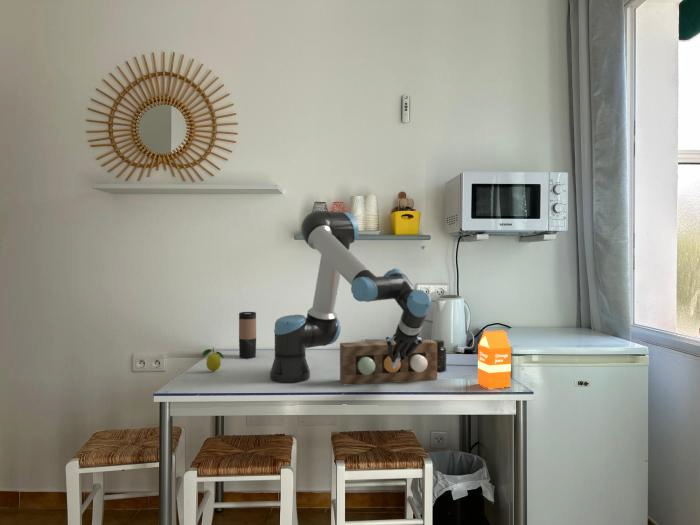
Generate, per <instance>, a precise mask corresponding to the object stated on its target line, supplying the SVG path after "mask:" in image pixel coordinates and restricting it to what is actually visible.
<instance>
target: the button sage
mask: <svg viewBox="0 0 700 525" xmlns="http://www.w3.org/2000/svg"><path fill="white" fill-rule="evenodd" d="M357 367H358V369H359V371H360V372H361V373H362V374H364V375H370V374H372V373H373V372H374V370H375V363H374V361H373V360H372V359H371V358H369V357H362V358H361V359H360V360H359V361H358V363H357Z"/></svg>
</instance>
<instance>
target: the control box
mask: <svg viewBox="0 0 700 525" xmlns="http://www.w3.org/2000/svg"><path fill="white" fill-rule="evenodd" d="M433 340H434V339H422V343H421V344H420V345H418V346H417V348H416V349H415V350H414V351H413V352H412V354H411V355H410V356H409V357H406V356H405V357H404V360H402V361H401V362H400V363H401V365H400V368H399V370H398V371H396V372H394V373H391V372H388V371H387V370H386V369H385V368H384V367H383V359H384V358H385V357H386V356H387V355H389V353H388V345H387V342H386V340H385V341H384V340H383V341H359V342H357V341H355V342H340V343H339V345H340V346H339V381H340V380H341V381H340V382H341V384H342V385H343V384H352V385H365V384H366V385H367V384H369V385H370V384H385V383H388V384H389V383H401V382H402V383H403V382H421V381H437V380H438V372H437V342H435V341H433ZM395 344H396V342H395V341H393V345H392V349H394V347H395ZM399 353H400V352H399ZM416 354H419V355H421V356H423V357H425V358H426V360H427V362H428V365H427V368H426V369H425V370H424V371H423V372H416V371H415V370H413V369H412V368H411V367H410V359H411V357H412V356H413V355H416ZM362 357H369V358H371V359H372V360H373V361H374V363H375V370H374V372H373V373H372V374H370V375H364V374H362V373H361V372H360V371H359V369H358V367H357V363H358V361H359V360H360V359H361V358H362Z"/></svg>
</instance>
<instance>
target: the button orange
mask: <svg viewBox="0 0 700 525" xmlns="http://www.w3.org/2000/svg"><path fill="white" fill-rule="evenodd" d="M391 362H392V361H391V358H390V357H389V355H387V356H386V357H385V358H384V359H383V367H384V368H385V369H386V370H387V371H388V372H391V373H394V372H396V371H398V370H399V368H400V365H401V363H400V362H399V364H398V367H397V369H393V368H392V363H391Z"/></svg>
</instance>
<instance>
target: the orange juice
mask: <svg viewBox="0 0 700 525" xmlns="http://www.w3.org/2000/svg"><path fill="white" fill-rule="evenodd" d="M510 344H511V343H510V341H509V339H508V336H507V333H506V330H488V331H487V330H486V331H483V333H482V335H481V338H480V340H479V342H478V345H477V346H478V348H477V350H478V352H477V385H479V384H480V385H479V386H481V385H482V386H481V387H483V386H484V387H483V388H485V387H487V388H489V389H490V388H502V389H505V388H504V387H510V388H511V370H512V369H511V368H512V365H511V364H512V363H511V362H512V361H511V359H512V357H511V356H512V355H511V354H512V347H511V345H510ZM487 388H486V389H487ZM489 389H488V390H489ZM490 390H491V389H490Z"/></svg>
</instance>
